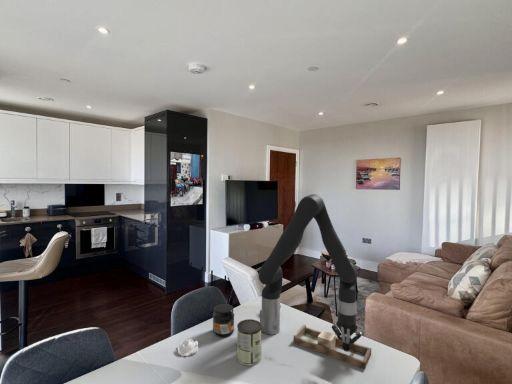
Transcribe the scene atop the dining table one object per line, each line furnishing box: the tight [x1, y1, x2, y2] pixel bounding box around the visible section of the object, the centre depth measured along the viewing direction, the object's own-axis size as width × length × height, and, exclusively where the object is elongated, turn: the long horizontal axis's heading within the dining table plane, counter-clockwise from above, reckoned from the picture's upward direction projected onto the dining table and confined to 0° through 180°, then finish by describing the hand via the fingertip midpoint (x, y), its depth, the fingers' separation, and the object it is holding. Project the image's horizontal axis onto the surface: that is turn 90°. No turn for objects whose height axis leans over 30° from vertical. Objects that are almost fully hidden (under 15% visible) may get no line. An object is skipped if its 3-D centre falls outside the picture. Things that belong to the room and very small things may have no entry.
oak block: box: [318, 330, 337, 350], centre depth 122 cm, size 6×6×5 cm
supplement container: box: [212, 303, 235, 338], centre depth 136 cm, size 10×10×12 cm
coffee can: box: [236, 318, 262, 367], centre depth 116 cm, size 10×10×14 cm
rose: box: [177, 338, 199, 357], centre depth 121 cm, size 10×4×10 cm
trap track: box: [292, 324, 372, 370], centre depth 121 cm, size 31×11×5 cm, turn 56°
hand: (346, 350), depth 117 cm, fingers closed
